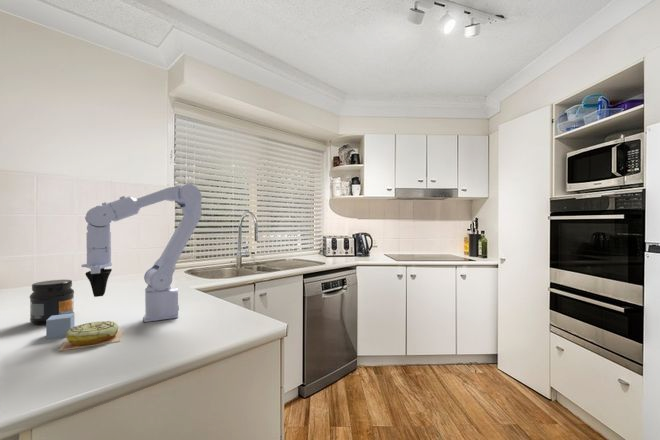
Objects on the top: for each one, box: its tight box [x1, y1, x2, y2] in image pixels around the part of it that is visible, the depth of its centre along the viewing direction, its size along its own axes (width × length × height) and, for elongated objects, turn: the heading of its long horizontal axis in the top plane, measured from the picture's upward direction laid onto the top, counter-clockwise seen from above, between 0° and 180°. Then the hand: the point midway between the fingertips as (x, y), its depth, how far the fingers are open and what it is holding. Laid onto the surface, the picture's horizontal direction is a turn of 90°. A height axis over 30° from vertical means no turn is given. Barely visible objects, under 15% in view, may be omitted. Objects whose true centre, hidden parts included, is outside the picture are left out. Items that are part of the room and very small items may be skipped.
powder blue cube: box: [45, 312, 75, 340], centre depth 88 cm, size 5×5×5 cm
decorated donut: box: [65, 320, 119, 346], centre depth 83 cm, size 10×11×4 cm
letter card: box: [59, 330, 123, 352], centre depth 83 cm, size 12×9×1 cm
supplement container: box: [29, 279, 75, 326], centre depth 101 cm, size 10×10×12 cm
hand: (99, 295), depth 93 cm, fingers closed
